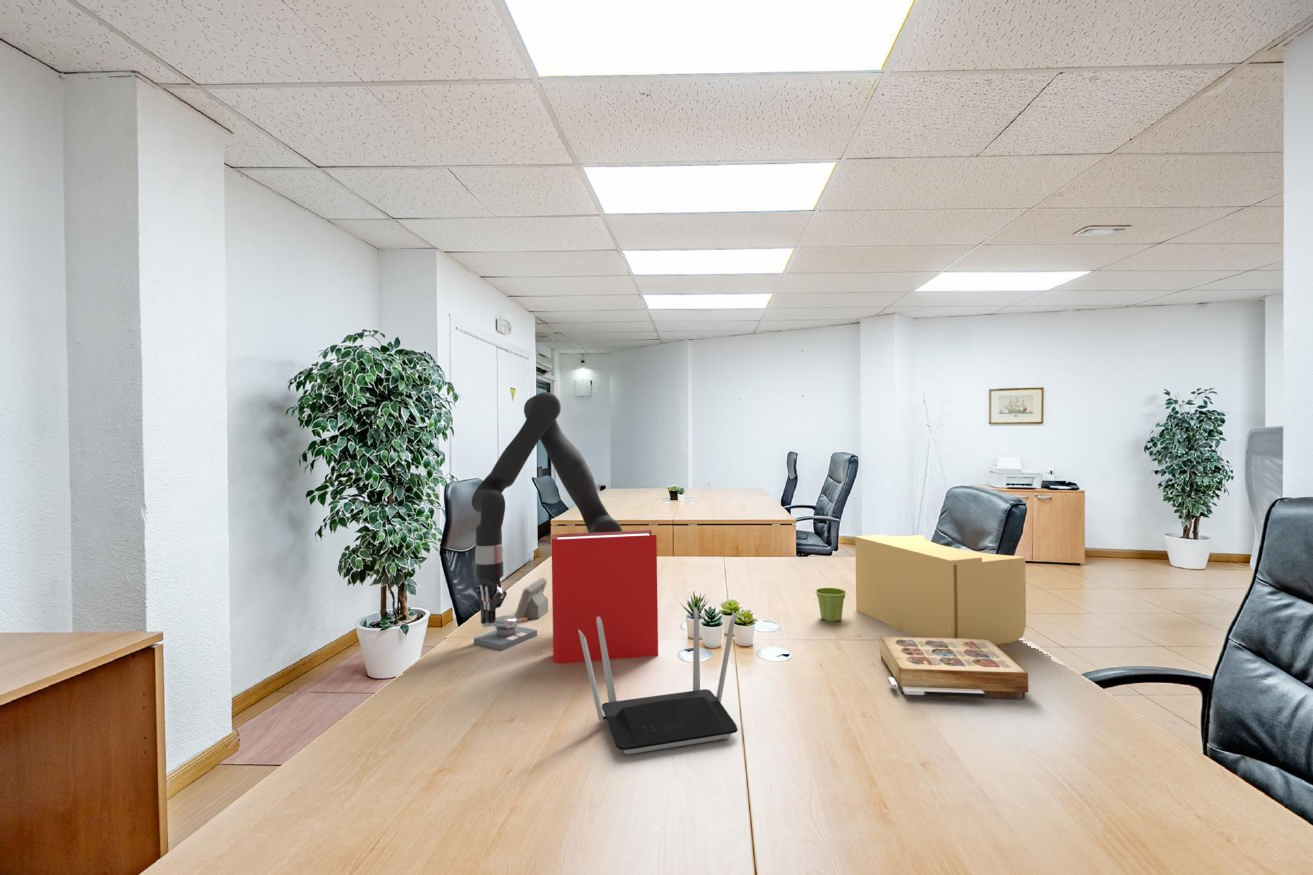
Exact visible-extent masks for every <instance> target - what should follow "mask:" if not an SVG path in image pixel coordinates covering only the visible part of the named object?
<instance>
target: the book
mask: <svg viewBox="0 0 1313 875" xmlns="http://www.w3.org/2000/svg"><path fill="white" fill-rule="evenodd" d="M657 540H658V539H657V534H652V530H651V529H649V530H648V529H646V530H645V529H644V530H625V531H624V530H622V531H620V532H597V533H588V532H581V533H580V532H576V533H556V534H551V587H552V588H551V589H552V590H551V594H552V596H551V598H552V599H551V600H552V601H551V602H552V604H551V605H552V653H553V654H552V655H553V656H552V657H553V663H554V664H558V665H563V664H572V663H573V664H574V663H586V662H585V657H584V653H583V649H582V644H581V640H580V636H579V631H580V632H581V633H582V634H583V635H584V636H585V638H586V642H587V646H588V650H589V655H590V659H591V662H599V661H603V660H602V654H601V647H600V641H599V634H598V627H597V617H599V616H600V618H601V620H602V624H603V630H604V635H605V640H606V646H607V651H608V657H609V661H611V660H623V659H625V660H626V659H635V658H636V659H637V658H647V657H658V656H659V624H658V623H659V616H658V612H659V610H658V607H659V606H658V605H659V604H658V556H657V555H658V554H657V552H658V549H657V546H658V545H657V544H658V542H657ZM578 629H579V631H578Z"/></svg>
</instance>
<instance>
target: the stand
mask: <svg viewBox="0 0 1313 875" xmlns="http://www.w3.org/2000/svg"><path fill="white" fill-rule="evenodd" d="M536 636H538V630H537V629H533V628H528V627H523V626H519V625H516V626H515V627H513V628H508V629H498V628H496V629H495V630H492V631H490V632H487V633H483V634H482V635H479V636H476V637H474V638H473V644H474V645H479V646H481V647H486V648H490V649H494V650H498V651H504V650H507V649H509V648H511V647H514V646H516V645H519V644H520V643H523V642H524V641H528V640H529V639H532V638H534V637H536Z"/></svg>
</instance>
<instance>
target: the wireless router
mask: <svg viewBox="0 0 1313 875" xmlns="http://www.w3.org/2000/svg"><path fill="white" fill-rule="evenodd" d="M699 615H700V614H699V610H698V607H696V606H695V607H693V642H692V644H693V647H692V648H693V649H692V650H693V651H692V652H693V653H692V655H693V658H692V659H693V660H692V661H693V664H692V690H689V691H682V692H681V691H680V692H676V693H675V692H674V693H668V694H667V693H666V694H659V695H652V696H646V697H638V698H637V697H636V698H630V699H624V700H623V699H622V700H617V696H616V695H617V694H616V690H615V685H614V684H615V683H614V680H613V674H612V669H611V663H610V660H609V657H608V651H607V646H606V640H605V635H604V630H603V624H602V620H601V618H600V616H599V617H597V627H598V634H599V641H600V647H601V654H602V660H601V661H602V666H603V671H604V672H603V673H604V679H605V685H606V694H607V698H608V699H607V700H608V702H607V701H606V702H604V703H602V704H601V699H600V695H599V690H598V687H597V681H596V677H595V673H594V668H593V664H592V661H591V659H590V655H589V650H588V646H587V642H586V638H585V636H584V635H583V634H582V633H581V632H580V631H579V629H578V631H579V636H580V640H581V644H582V649H583V653H584V657H585V662H584V663H585V666H586V670H587V673H588V674H587V675H588V679H589V684H590V687H591V691H592V695H593V701H594V704H595V709H596V712H597V713H596V714H597V718H598V721H599V723H600V724H603V723H604V722H605V720H606V721H607V725H608V727H609V730H610V733H611V735H612V739H613V741H614V745H615V746H616V748H617V749H618V750H621V751H623V753H624V754H625V755H632V754H639V753H646V752H651V751H657V750H665V749H669V748H676V747H681V746H682V747H684V746H689V745H694V744H701V743H707V742H713V741H714V742H715V741H719V740H727V739H729V738H730V737H731V735H732V734H734V733H737V732H738V730H739V729H738V726H737V724H736V723H735V721H734V720H733V718H732V717H731V715H730V714H729V713H728V711H727V710H726V708H725V706H724V705H723V704H722V697H723V692H724V685H725V680H726V674H727V669H728V662H729V657H730V652H731V645H732V641H733V640H732V639H733V634H734V628H735V622H736V616H737V614H736V613H734V614H733V615H732V616H731V617H730V620H729V625H728V630H727V635H726V639H725V640H726V642H725V647H724V653H723V658H722V662H721V669H720V674H719V675H720V676H719V681H718V686H717V691H716V695H715V694H714V693H713V692H712V691H711V690H710V689H705V688H703V689H701V671H700V670H701V669H700V668H701V667H700V666H701V664H700V663H701V662H700V661H701V660H700V659H701V658H700V622H699V621H700V616H699Z"/></svg>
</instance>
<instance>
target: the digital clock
mask: <svg viewBox="0 0 1313 875" xmlns="http://www.w3.org/2000/svg"><path fill="white" fill-rule="evenodd" d="M547 582H548V581H547V578H545V577H540V578H538V579H537V580H534V581H533V582H532V583H531V584H529V585H527V586H526V587H524V589H523V590H522V593H521V597H520V600H519V602H518V606H517V608H516V611H515V614H514V616H515V617H516V619H521V618H526V617H527V619H528V620H539V619H540V618H541V617H543V615H545V614H546V613H548V612H549V598H548V597H547V596H546V595H545V594H544V592H545V591H544V590H545V588H546V585H547Z"/></svg>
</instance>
